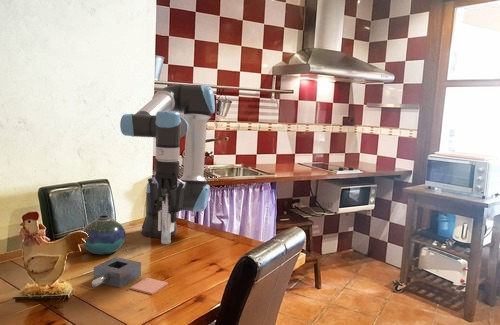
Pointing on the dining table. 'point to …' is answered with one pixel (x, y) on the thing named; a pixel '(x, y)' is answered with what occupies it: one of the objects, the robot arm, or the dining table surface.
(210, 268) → the dining table surface
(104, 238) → the vase
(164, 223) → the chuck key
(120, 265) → the chuck block
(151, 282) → the mat
